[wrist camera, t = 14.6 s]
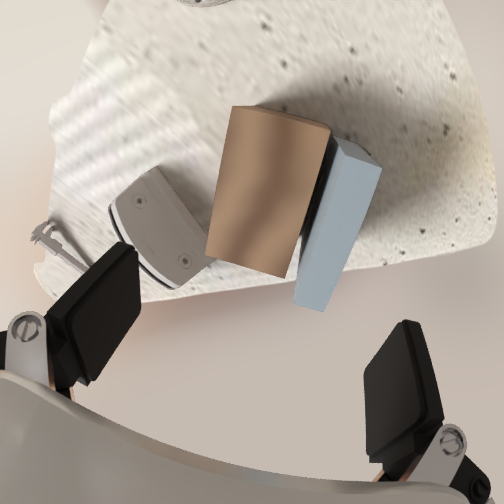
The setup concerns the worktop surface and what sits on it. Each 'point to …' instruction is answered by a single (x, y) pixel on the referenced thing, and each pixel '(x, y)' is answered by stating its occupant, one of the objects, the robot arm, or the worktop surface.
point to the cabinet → (264, 187)
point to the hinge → (159, 230)
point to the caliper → (56, 247)
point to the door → (334, 221)
